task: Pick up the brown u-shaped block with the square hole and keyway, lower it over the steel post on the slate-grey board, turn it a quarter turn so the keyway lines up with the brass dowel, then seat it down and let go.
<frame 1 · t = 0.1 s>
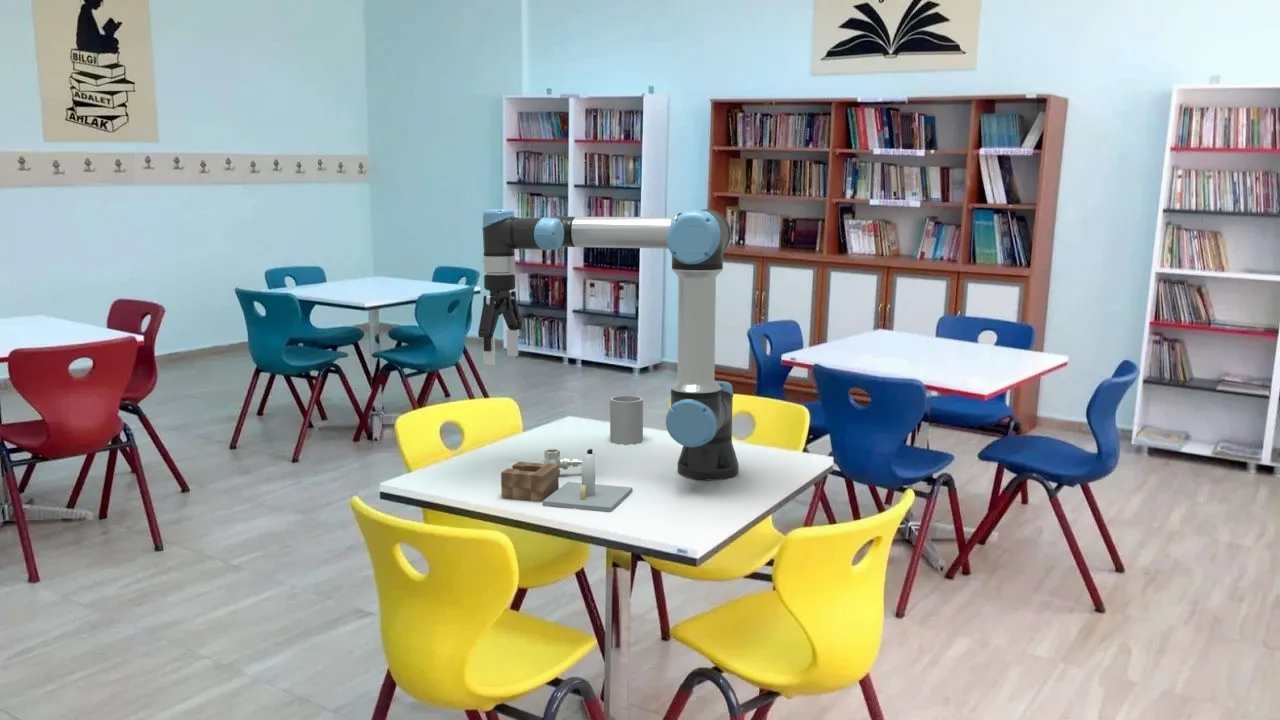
hand: (501, 360, 253), 28 cm above the table, fingers open, 13 cm apart
post board: (588, 498, 234), on the table
brown u-shaped block: (530, 493, 238), on the table
cup: (626, 441, 288), on the table
valve: (568, 476, 253), on the table
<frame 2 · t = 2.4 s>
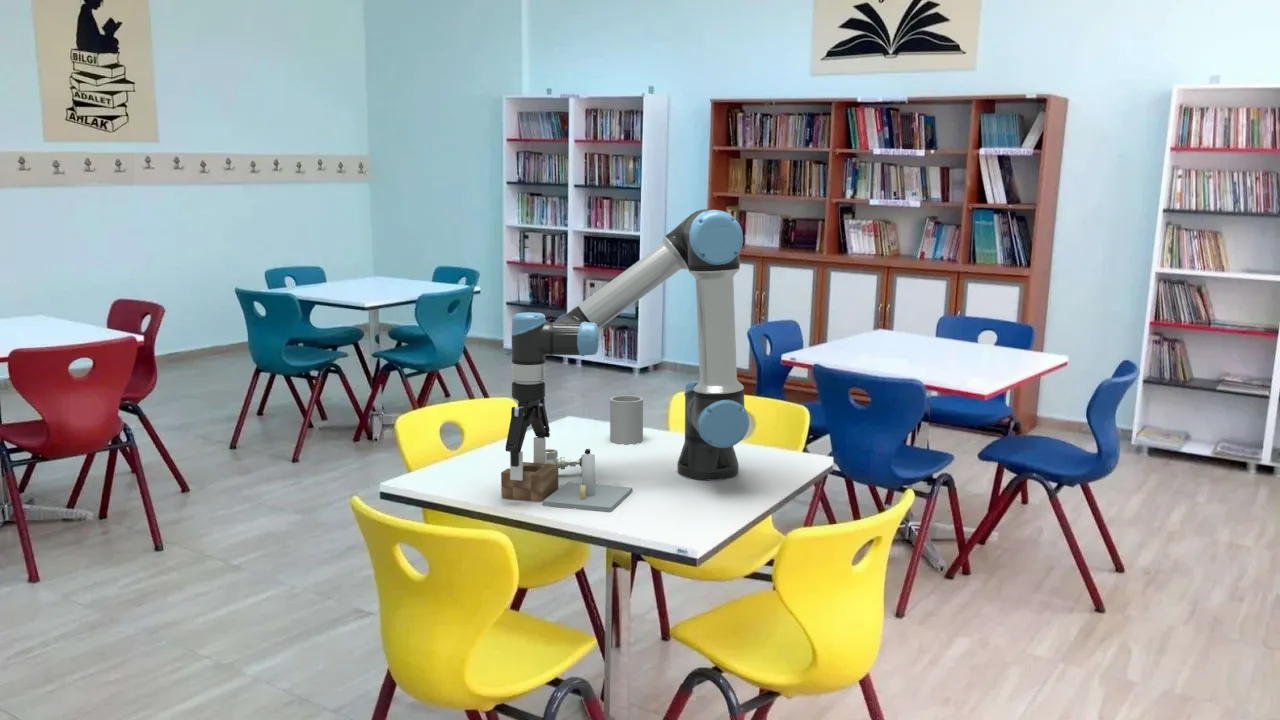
hand: (528, 472, 237), 5 cm above the table, fingers open, 13 cm apart
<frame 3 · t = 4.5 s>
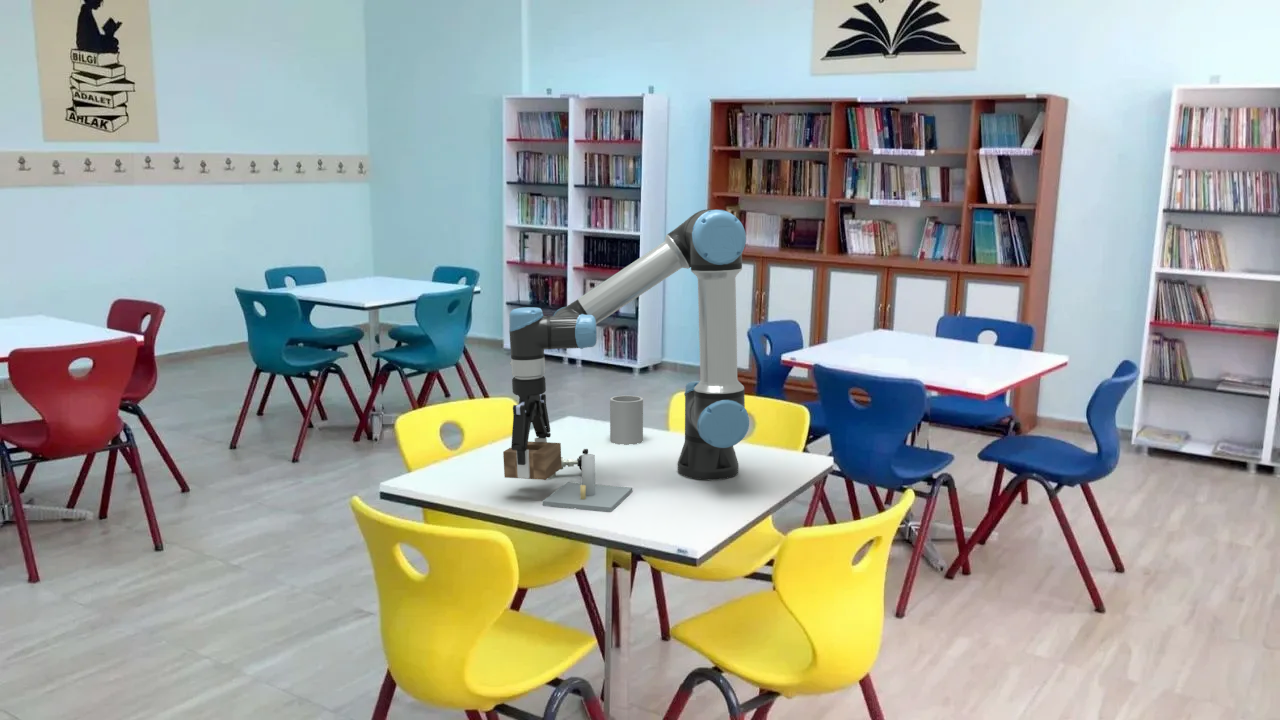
hand: (533, 471, 237), 5 cm above the table, fingers closed on brown u-shaped block, 10 cm apart
brown u-shaped block: (533, 472, 237), point 5 cm above the table, touching gripper
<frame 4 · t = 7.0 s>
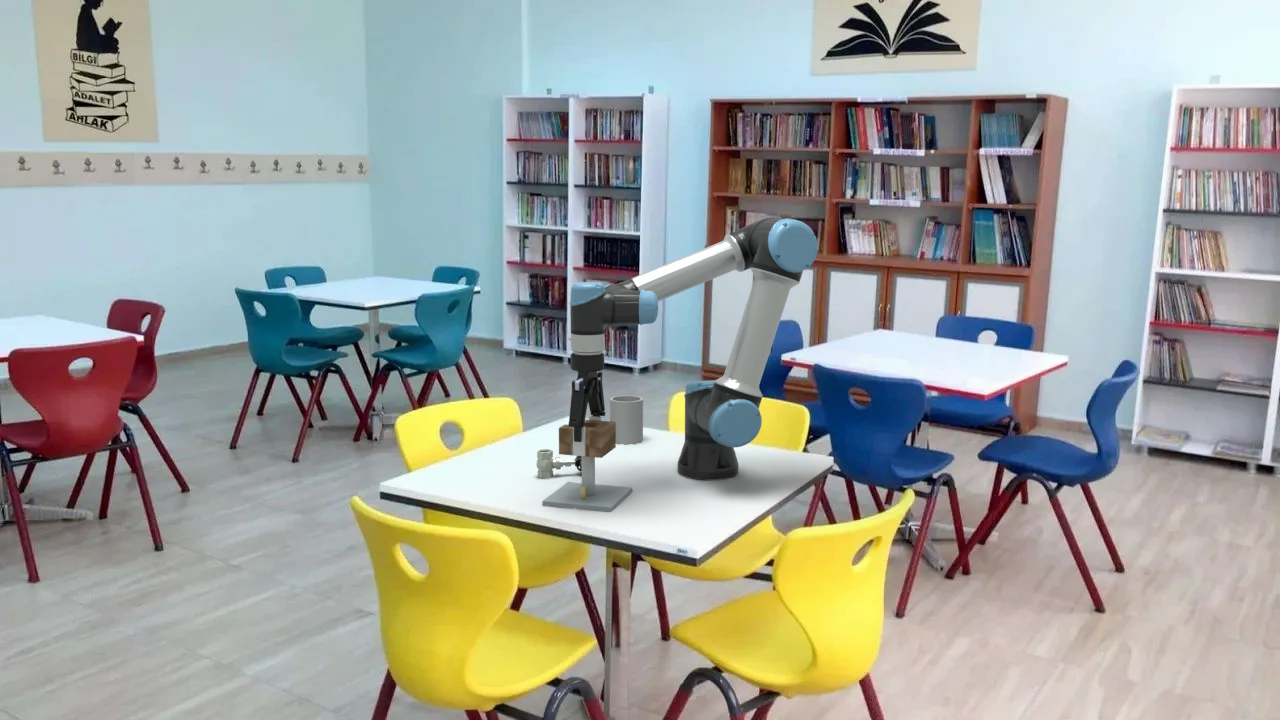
hand: (587, 449, 232), 11 cm above the table, fingers closed on brown u-shaped block, 10 cm apart
brown u-shaped block: (587, 450, 232), point 11 cm above the table, touching gripper
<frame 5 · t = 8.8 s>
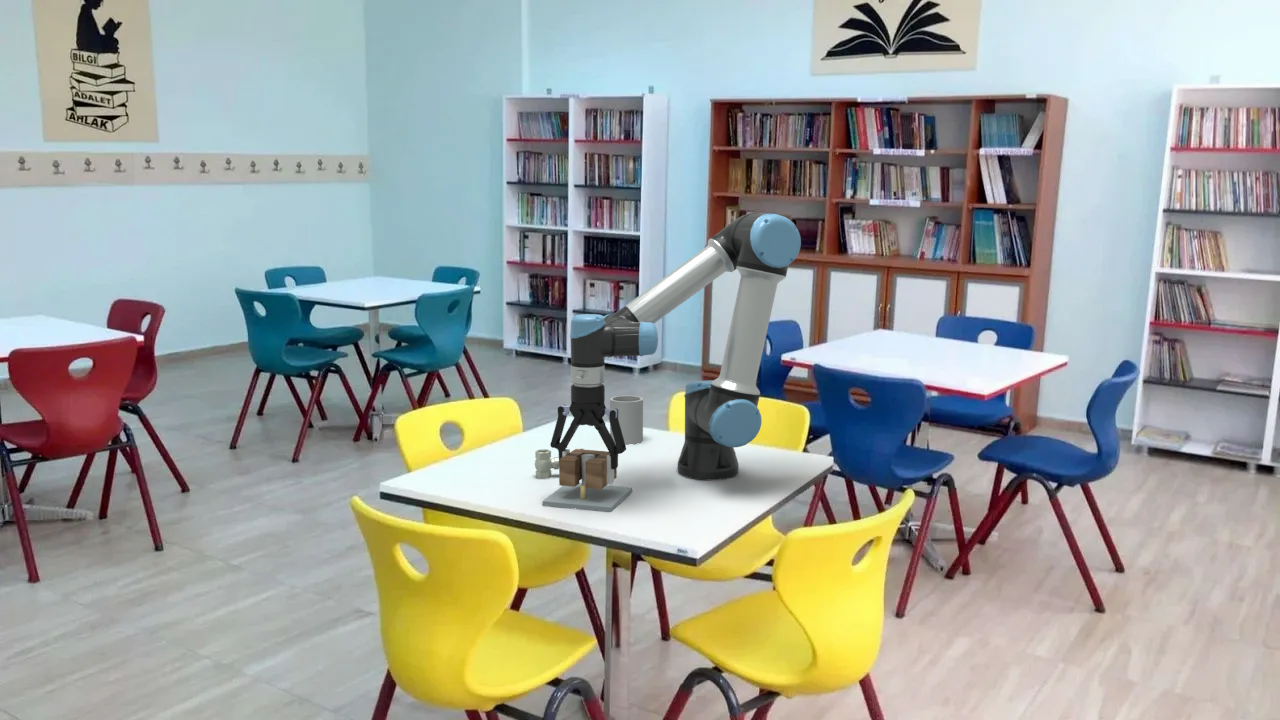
hand: (588, 480, 234), 4 cm above the table, fingers closed on brown u-shaped block, 10 cm apart
brown u-shaped block: (588, 481, 234), point 4 cm above the table, touching gripper
when the fingers open (2 cm above the table, at t = 9.9 s): brown u-shaped block stays where it is, resting on post board.
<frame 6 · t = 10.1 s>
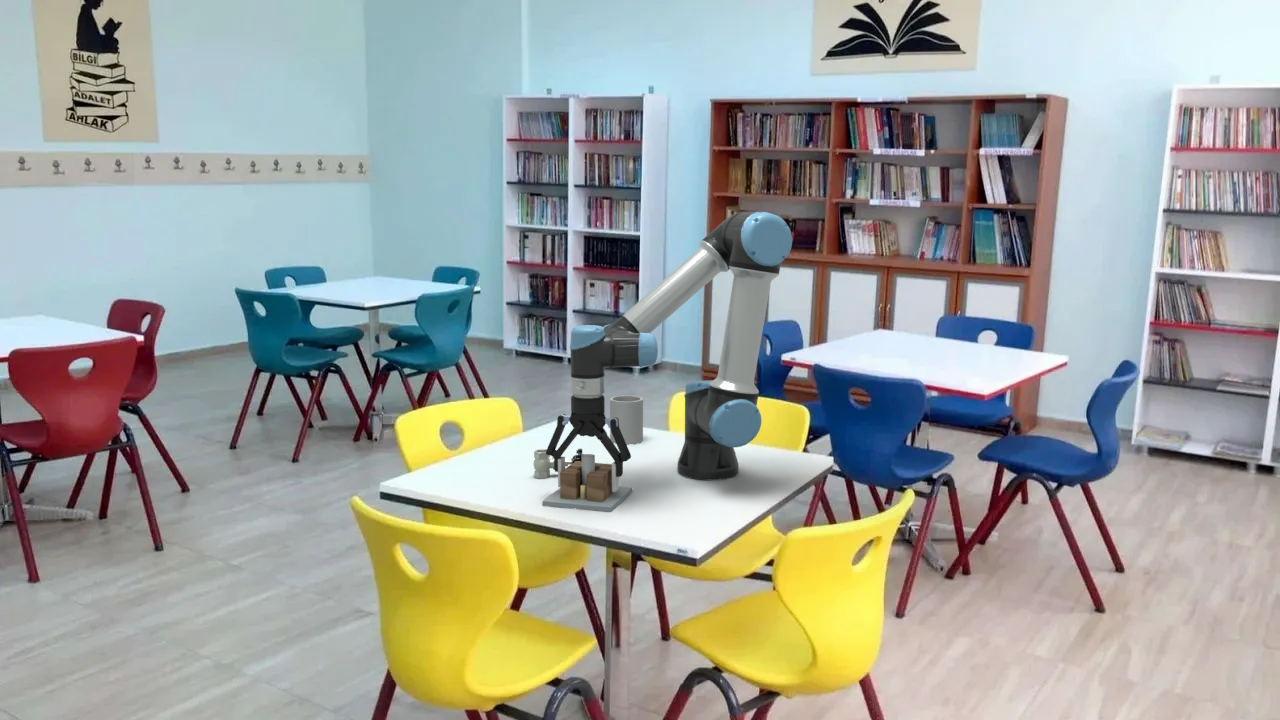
hand: (588, 488, 234), 2 cm above the table, fingers open, 12 cm apart
brown u-shaped block: (588, 494, 234), point 1 cm above the table, touching post board
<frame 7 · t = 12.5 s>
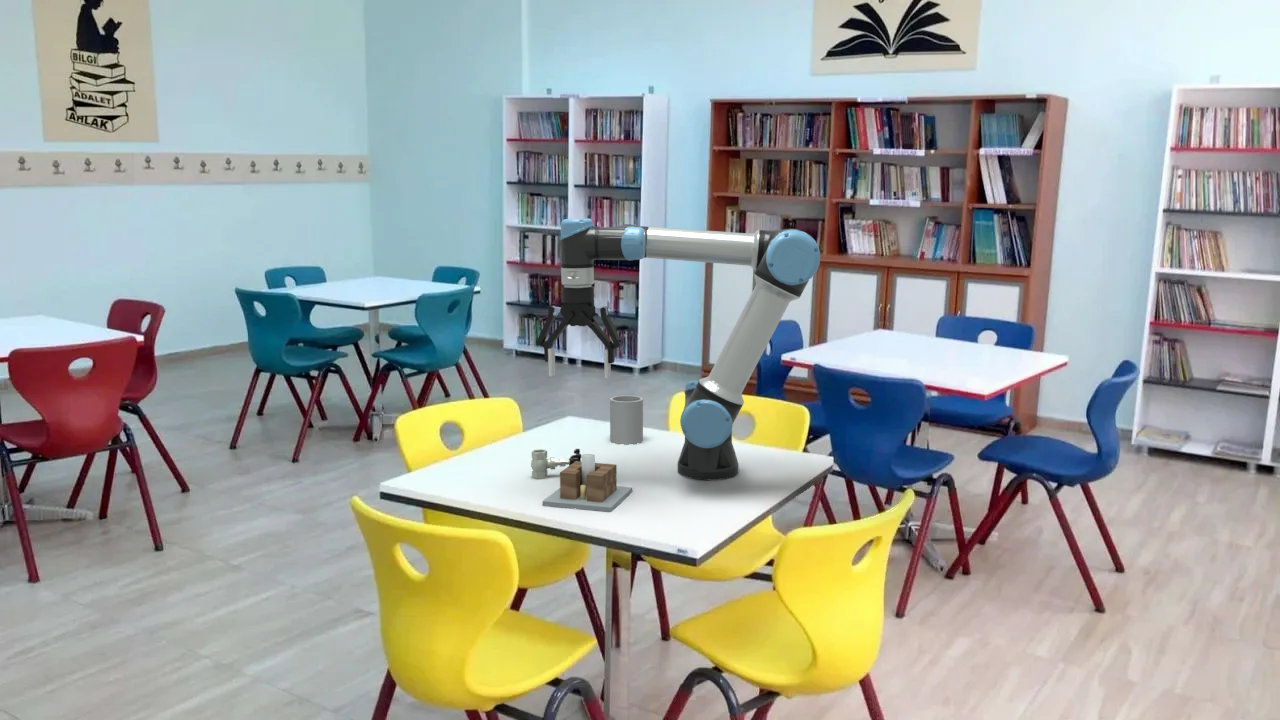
hand: (579, 376, 242), 26 cm above the table, fingers open, 13 cm apart
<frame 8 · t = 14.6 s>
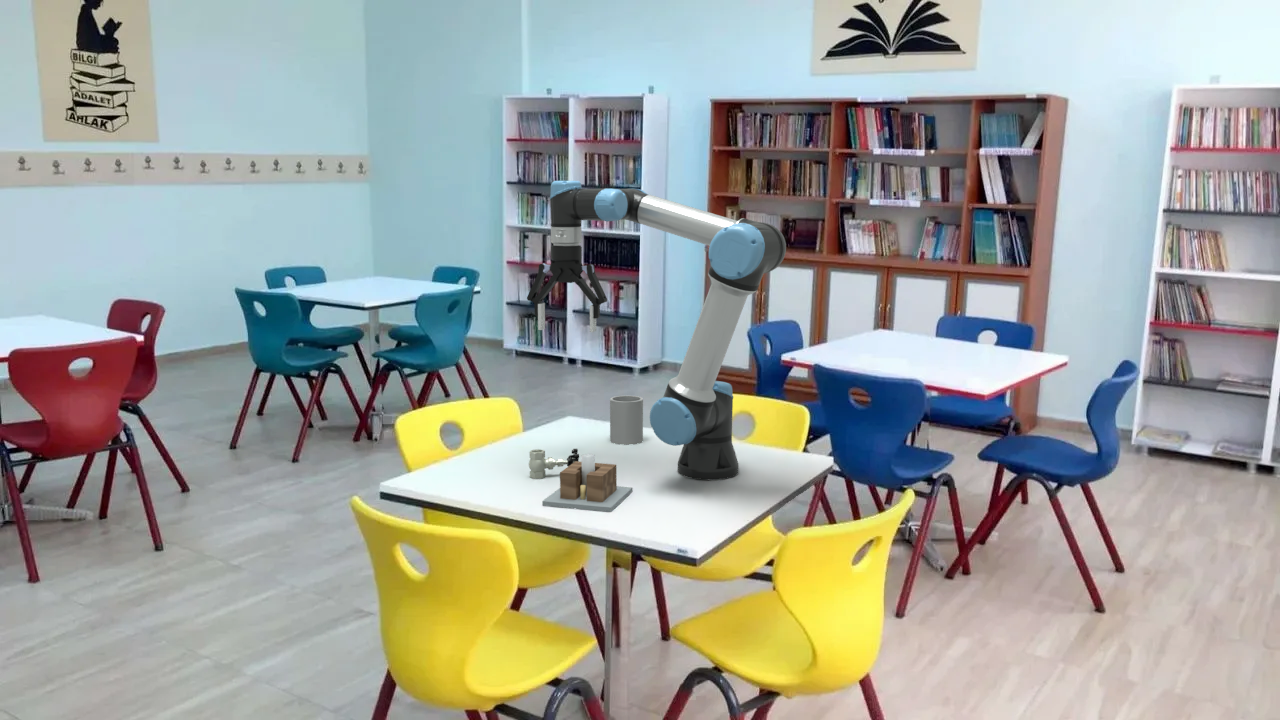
hand: (567, 330, 256), 35 cm above the table, fingers open, 13 cm apart
at the end: brown u-shaped block 0.1 cm off-centre on the post board, point 1.0 cm above the post board's base; brown u-shaped block tilted 0°; the gripper is holding nothing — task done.
